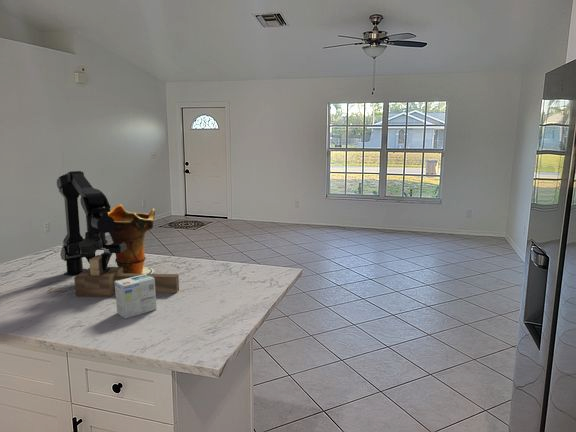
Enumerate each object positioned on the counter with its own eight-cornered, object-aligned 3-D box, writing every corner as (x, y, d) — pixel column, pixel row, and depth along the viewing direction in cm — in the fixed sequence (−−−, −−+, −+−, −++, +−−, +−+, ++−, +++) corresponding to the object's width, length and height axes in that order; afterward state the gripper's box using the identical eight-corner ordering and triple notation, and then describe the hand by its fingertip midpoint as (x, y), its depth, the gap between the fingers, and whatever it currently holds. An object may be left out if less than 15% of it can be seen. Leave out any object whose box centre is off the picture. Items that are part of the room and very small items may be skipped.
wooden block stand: (92, 284, 159) (91, 266, 158) (182, 285, 158) (181, 267, 157) (76, 296, 147) (74, 277, 146) (173, 297, 146) (172, 278, 145)
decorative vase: (147, 282, 160) (139, 209, 156) (92, 282, 164) (82, 211, 159) (171, 266, 181) (164, 201, 176) (121, 266, 184) (113, 203, 180)
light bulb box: (147, 304, 141) (145, 272, 139) (157, 309, 136) (155, 277, 134) (115, 313, 133) (113, 280, 131) (125, 319, 129) (122, 285, 127)
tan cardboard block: (99, 276, 155) (97, 254, 154) (108, 276, 155) (106, 255, 154) (91, 281, 149) (89, 259, 148) (100, 281, 149) (99, 259, 148)
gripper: (56, 232, 141) (61, 277, 144) (112, 233, 141) (115, 278, 144) (74, 225, 152) (78, 267, 155) (125, 226, 152) (128, 268, 154)
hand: (99, 270), depth 152 cm, fingers closed on tan cardboard block, 3 cm apart
